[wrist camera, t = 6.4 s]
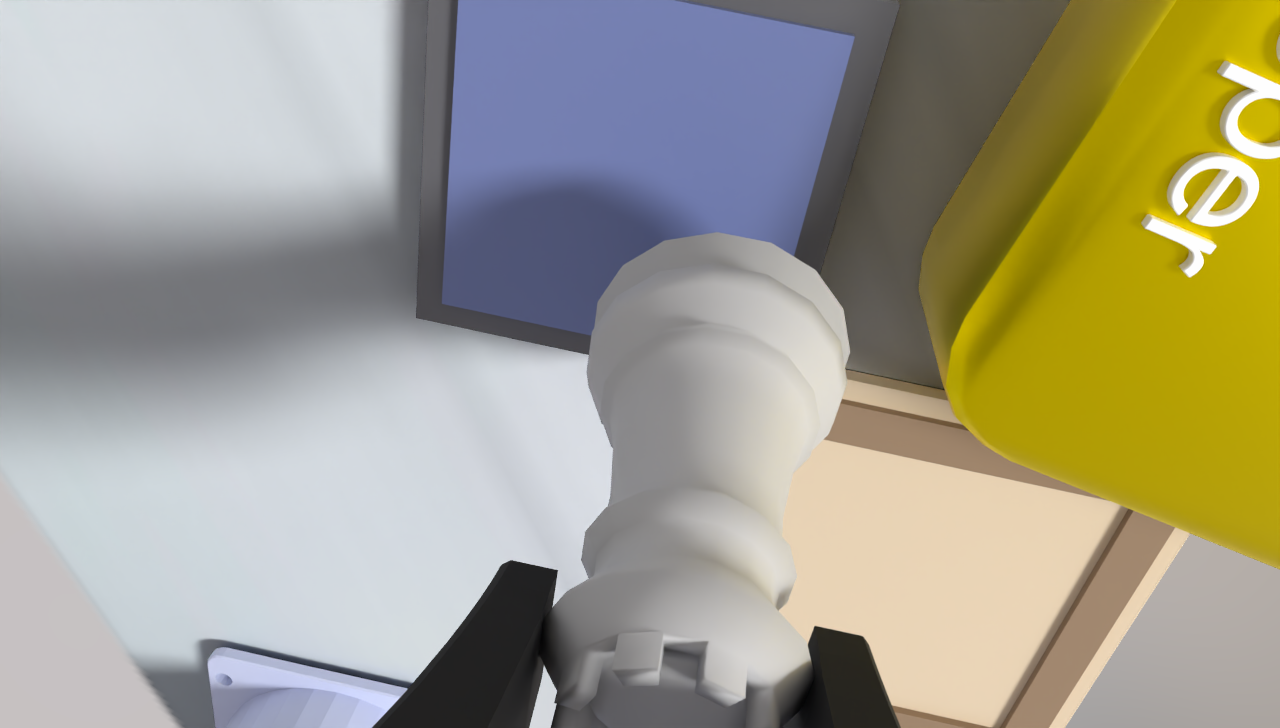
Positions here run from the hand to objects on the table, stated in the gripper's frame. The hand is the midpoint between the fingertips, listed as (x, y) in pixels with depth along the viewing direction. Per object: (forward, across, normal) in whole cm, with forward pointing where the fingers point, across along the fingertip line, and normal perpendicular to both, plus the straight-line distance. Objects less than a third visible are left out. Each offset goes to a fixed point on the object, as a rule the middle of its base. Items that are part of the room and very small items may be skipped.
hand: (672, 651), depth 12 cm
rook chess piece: (+6, 0, -1) cm, 7 cm away
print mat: (+9, -6, +6) cm, 13 cm away
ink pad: (+9, +2, -3) cm, 10 cm away
